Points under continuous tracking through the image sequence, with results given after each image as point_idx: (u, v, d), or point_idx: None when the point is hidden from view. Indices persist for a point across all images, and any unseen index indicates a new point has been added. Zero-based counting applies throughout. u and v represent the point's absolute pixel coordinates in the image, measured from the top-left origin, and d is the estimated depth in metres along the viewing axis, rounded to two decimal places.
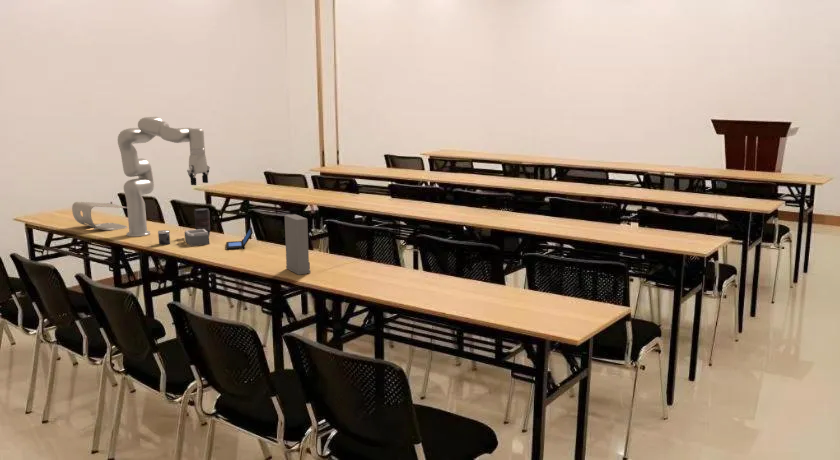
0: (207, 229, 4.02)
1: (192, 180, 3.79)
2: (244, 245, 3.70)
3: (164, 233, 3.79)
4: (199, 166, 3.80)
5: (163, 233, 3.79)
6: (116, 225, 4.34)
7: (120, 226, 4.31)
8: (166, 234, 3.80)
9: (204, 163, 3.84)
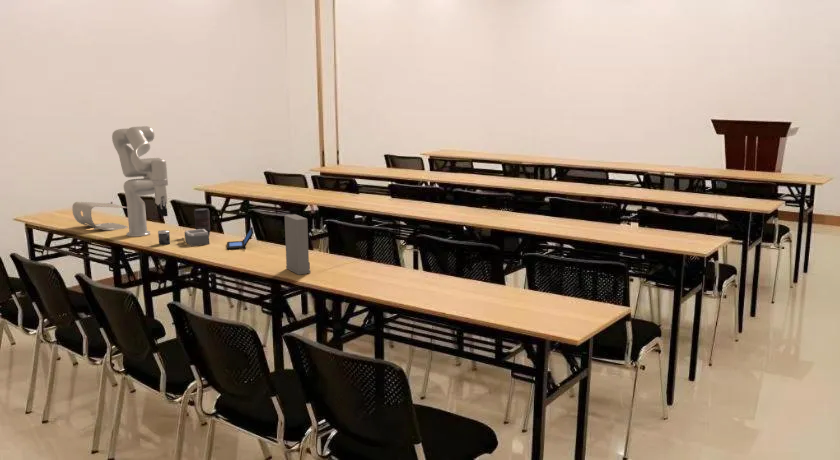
0: (207, 229, 4.02)
1: (164, 211, 3.74)
2: (245, 245, 3.70)
3: (164, 233, 3.79)
4: None
5: (163, 233, 3.79)
6: (116, 225, 4.34)
7: (120, 226, 4.31)
8: (166, 234, 3.80)
9: None
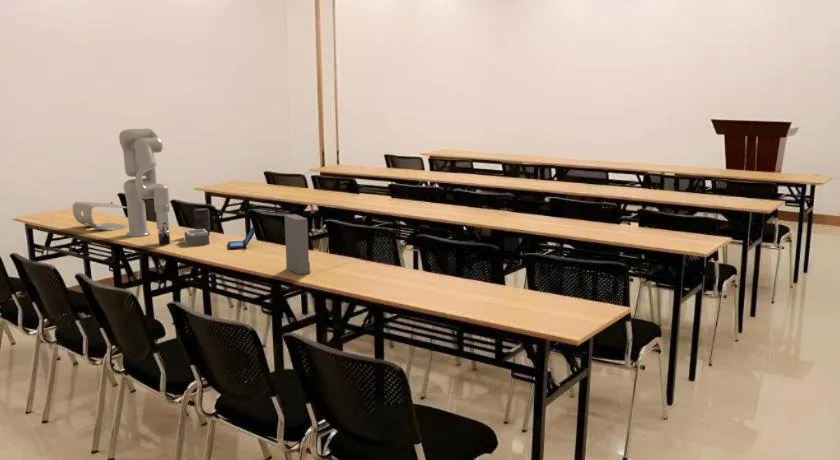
0: (207, 229, 4.02)
1: (165, 239, 3.79)
2: (246, 245, 3.70)
3: None
4: None
5: None
6: (116, 225, 4.34)
7: (120, 226, 4.31)
8: None
9: None
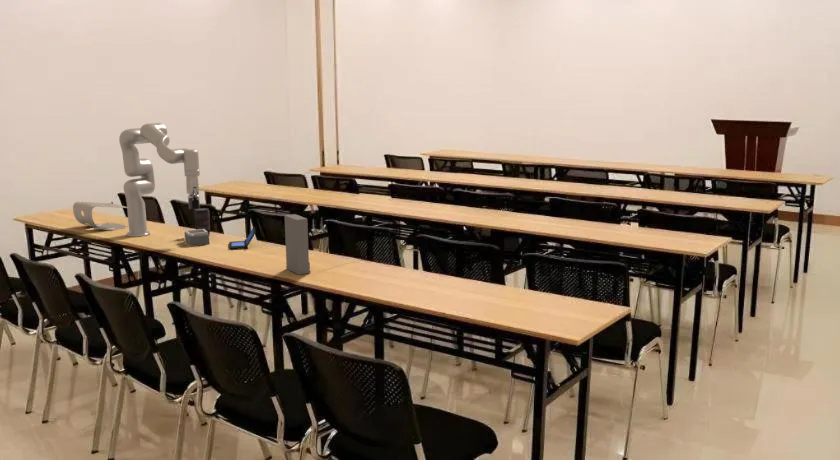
0: (207, 229, 4.02)
1: (195, 203, 3.78)
2: (247, 245, 3.70)
3: None
4: None
5: None
6: (117, 225, 4.34)
7: (121, 226, 4.31)
8: None
9: None
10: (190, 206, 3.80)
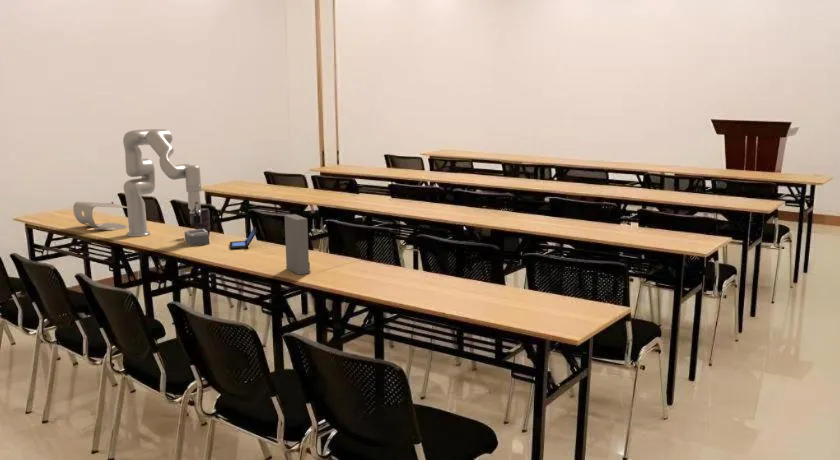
0: (207, 229, 4.02)
1: (197, 218, 3.80)
2: (248, 245, 3.70)
3: None
4: None
5: None
6: (117, 225, 4.34)
7: (121, 226, 4.31)
8: None
9: None
10: (192, 221, 3.81)
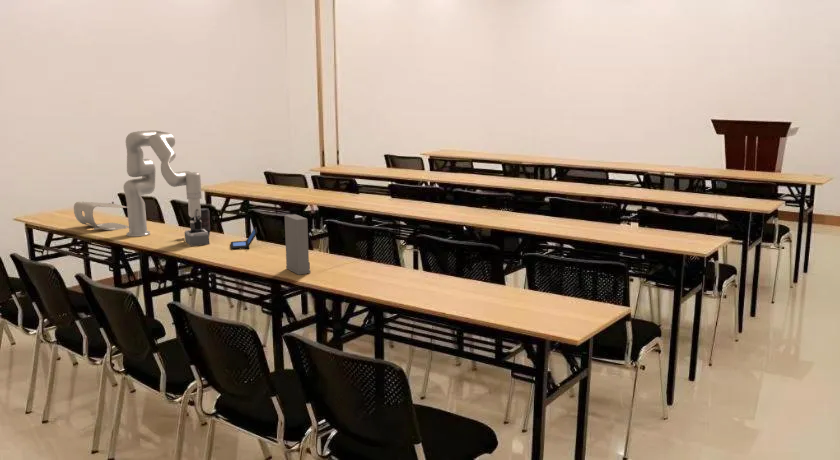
0: (207, 229, 4.02)
1: (198, 224, 3.79)
2: (248, 245, 3.70)
3: None
4: None
5: None
6: (118, 225, 4.34)
7: (122, 226, 4.31)
8: None
9: None
10: (192, 231, 3.83)
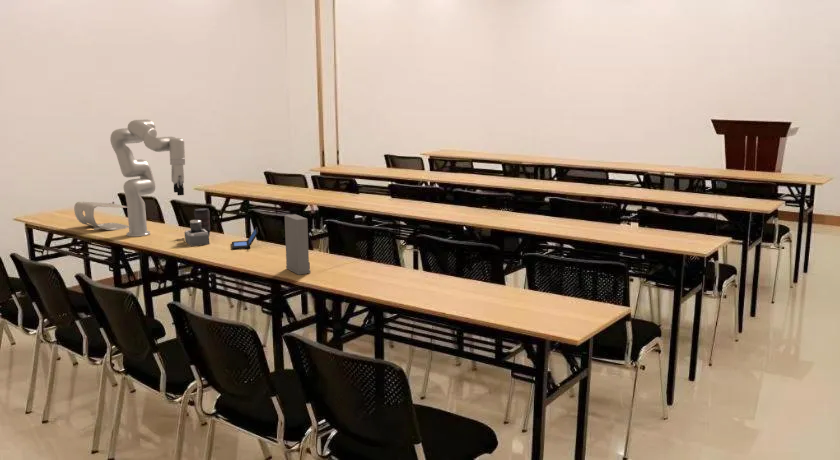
0: (207, 229, 4.02)
1: (181, 190, 3.78)
2: (249, 245, 3.71)
3: (196, 222, 3.81)
4: None
5: (195, 222, 3.81)
6: (118, 225, 4.34)
7: (122, 226, 4.31)
8: (198, 223, 3.82)
9: None
10: (192, 231, 3.83)
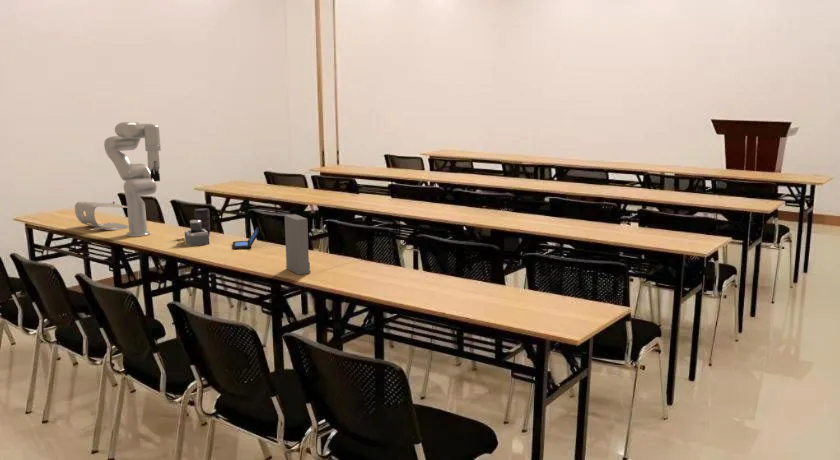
0: (207, 229, 4.02)
1: (157, 176, 3.78)
2: (250, 245, 3.71)
3: (196, 222, 3.81)
4: None
5: (195, 222, 3.81)
6: (119, 225, 4.34)
7: (123, 226, 4.31)
8: (198, 223, 3.82)
9: None
10: (192, 231, 3.83)
